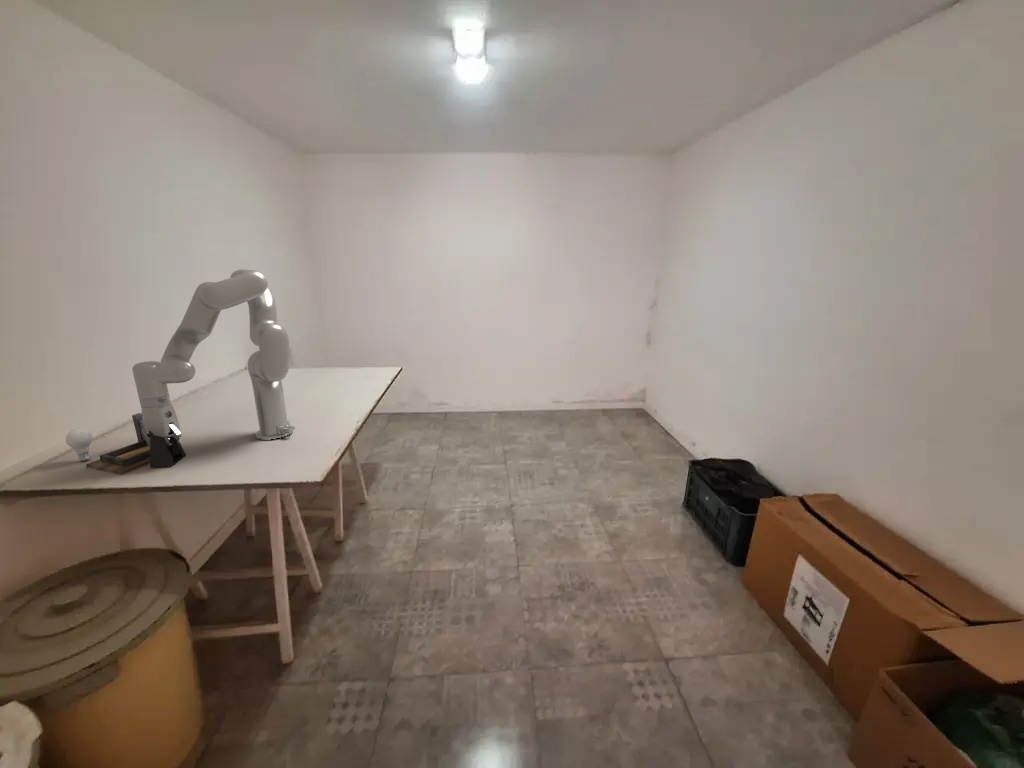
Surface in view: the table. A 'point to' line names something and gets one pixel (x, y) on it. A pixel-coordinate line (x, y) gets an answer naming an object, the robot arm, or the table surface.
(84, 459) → the lightbulb
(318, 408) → the table surface
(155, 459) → the phone stand
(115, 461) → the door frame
